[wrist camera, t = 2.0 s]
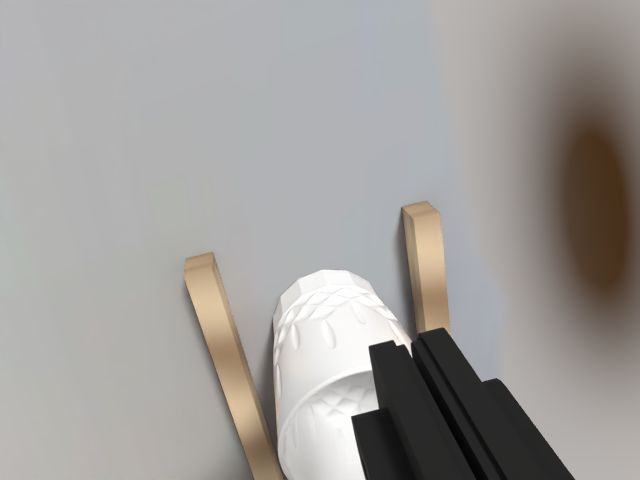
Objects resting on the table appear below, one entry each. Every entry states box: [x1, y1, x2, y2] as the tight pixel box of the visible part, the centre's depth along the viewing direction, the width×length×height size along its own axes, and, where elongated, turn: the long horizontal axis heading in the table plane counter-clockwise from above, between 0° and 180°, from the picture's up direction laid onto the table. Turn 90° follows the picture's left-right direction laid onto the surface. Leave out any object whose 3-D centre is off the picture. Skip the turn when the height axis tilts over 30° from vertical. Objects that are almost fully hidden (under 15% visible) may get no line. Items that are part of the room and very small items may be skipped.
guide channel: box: [183, 201, 451, 480], centre depth 32 cm, size 27×14×2 cm, turn 11°
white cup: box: [273, 270, 412, 480], centre depth 26 cm, size 8×8×10 cm
